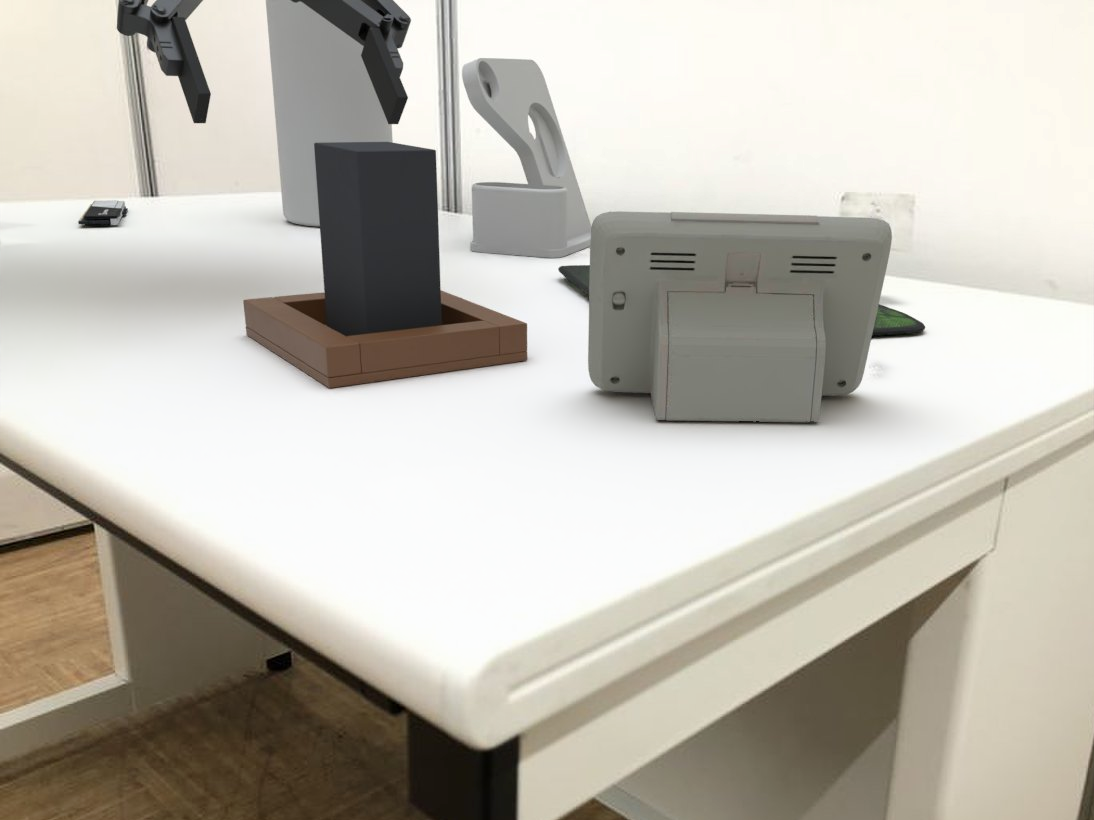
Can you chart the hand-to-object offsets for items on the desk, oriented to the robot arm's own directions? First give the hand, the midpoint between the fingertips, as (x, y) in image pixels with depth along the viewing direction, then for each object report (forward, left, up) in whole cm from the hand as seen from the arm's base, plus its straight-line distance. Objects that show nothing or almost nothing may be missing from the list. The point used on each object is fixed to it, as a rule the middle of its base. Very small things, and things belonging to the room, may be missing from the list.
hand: (305, 110), depth 75 cm
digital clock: (+33, -8, -14) cm, 37 cm away
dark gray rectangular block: (+9, -6, -14) cm, 18 cm away
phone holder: (-1, +40, -14) cm, 42 cm away
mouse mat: (+25, +19, -14) cm, 34 cm away
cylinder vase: (-28, +43, -14) cm, 53 cm away
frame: (+9, -6, -14) cm, 18 cm away
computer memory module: (-50, +30, -14) cm, 60 cm away
